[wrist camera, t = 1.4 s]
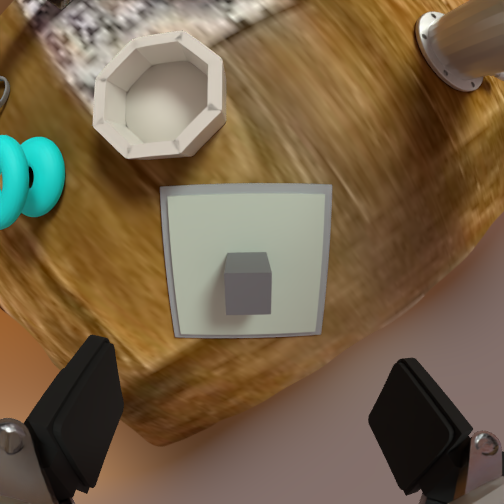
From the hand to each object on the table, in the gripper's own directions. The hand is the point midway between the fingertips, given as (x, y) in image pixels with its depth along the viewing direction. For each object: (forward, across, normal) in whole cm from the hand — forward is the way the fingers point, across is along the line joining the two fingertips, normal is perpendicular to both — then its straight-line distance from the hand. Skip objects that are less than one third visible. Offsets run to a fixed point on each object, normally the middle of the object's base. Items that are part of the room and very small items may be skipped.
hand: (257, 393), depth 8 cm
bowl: (+23, +10, -13) cm, 28 cm away
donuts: (+24, +26, -5) cm, 36 cm away
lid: (+23, -1, +3) cm, 23 cm away
